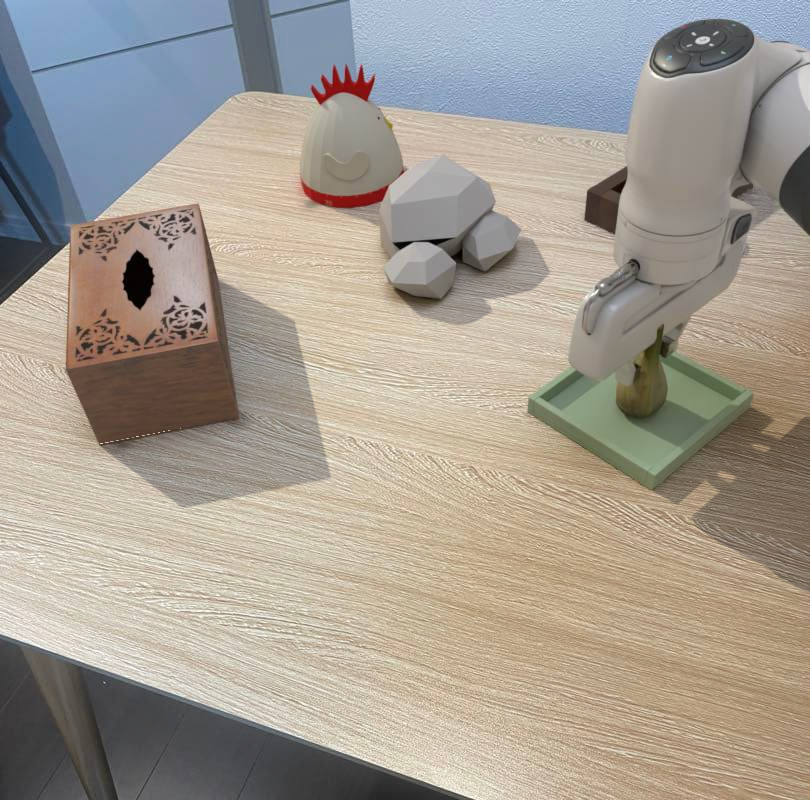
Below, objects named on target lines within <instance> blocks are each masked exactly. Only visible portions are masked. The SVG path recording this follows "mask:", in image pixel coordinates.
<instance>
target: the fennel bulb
mask: <svg viewBox="0 0 810 800" xmlns="http://www.w3.org/2000/svg"><path fill="white" fill-rule="evenodd" d="M663 330H664V324H662V325H661V326H660V327H659V328H658V330H657V338H656V341H655V343H653V344H652V345H651V346H649V347H648V348H647V349H645V350H644V351H643V352H641V353H640V354H639V355H638V357H637V359H635V360H633V363H636V364H638V365H640V366H641V371H640V374H639V375H640V376H639V379H637V380H636V381H635V382H634V383H632V384H631V385H630V386H628V387H627V386H625V385H623V384H621V383H619V382H618V383H617V388H616V404H617V406H618V408H619V409H620V410H621V411H622V412H623V413H625V414H627V415H629V416H636V417H648V416H650V415H651V414H653V413H655V412H656V411H658V410H659V409H660V408H661V407H662V405H663V404H664V402H665V400H666V397H667V391H668V385H667V380H666V376H665V372H664V369H663V366H662V364H661V361H660V359H659V354H660V348H661V342H662V336H663Z"/></svg>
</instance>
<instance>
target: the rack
mask: <svg viewBox="0 0 810 800" xmlns="http://www.w3.org/2000/svg"><path fill="white" fill-rule="evenodd" d="M627 176H628V169H627V165H625V167H623V168H620V170H617V171H616V172H615V173H613V174H612V175H609V176H607V177H606V178H604V179H603V180H601V181H600V182H598V183H596V184H595V185H593V186H591V187H590V188H588V189H587V190H586V196H585V197H586V198H585V208H584V218H583V220H584V221H585V222H586V221H587V222H589V223H590V224H593V225H595V226H597V227H599V228H601V229H603V230H606V231H608V232H610V233H611V234H613V235H615V231H616V224H617V216H618V207H619V200H620V196H621V193H622V190H623V188H624V186H625V184H626V181H627ZM752 188H754V185H753V184H751V183H750V184H747V185H743V186H740V187H738V188H736V189H735V190H734V191H733V193H732V195H731V196H732V197H734V198H736V199H738V197H740V196H741V195H743V194H744V193H745V192H747V191H749V190H750V189H752Z"/></svg>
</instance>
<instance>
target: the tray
mask: <svg viewBox="0 0 810 800" xmlns="http://www.w3.org/2000/svg"><path fill="white" fill-rule="evenodd" d="M659 359H660V361H661V364H662V366H663V369H664V372H665V376H666V380H667V385H668V391H667V397H666V400H665V402H664V404H663V405H662V407H661V408H660V409H659V410H658V411H656V412H655V413H653V414H651V415H650V416H648V417H636V416H629V415H627V414H625V413H623V412H622V411H621V410H620V409H619V408H618V406H617V404H616V388H617V383H618V381H617V380H616V379H615V372H614V373H613V374H612V375H610V376H609V377H608V378H606V379H605V380H603V381H601V382H598V381H595V380H593V379H591V378H589V377H587V376H585V375H583V374H582V373H580V372H579V371H577V370H576V369H574V368H573V367H572V366H571V365H570V367H568V368H567V369H566V370H564V371H563V372H561V373H559V375H557V376H556V377H554V378H553V379H551V380H550V381H548V382H547V383H546V384H545V385H543V386H542V387H540V388H539V389H538V390H536V391H535V392H533V393H532V394H530V395H529V396H528V399H527V413H529V414H530V415H532V416H534V417H535V418H537V419H538V420H540V421H542V422H543V423H545V425H548V426H549V427H551V428H553V429H554V430H556V431H557V432H559V434H560V433H561V434H562V435H563V436H565V437H567V438H569V439H570V440H571V441H573V442H575V443H576V444H578V445H579V446H581V447H583V448H584V449H585V450H587V451H588V452H591V453H592V454H593V455H595V456H597V457H598V458H600V459H601V460H603V461H604V462H607V464H609V465H611V466H612V467H614V468H616V469H617V470H619V471H621V472H623V473H624V474H625V475H627V476H628V477H630V478H631V479H633V480H634V481H636V482H638V483H639V484H641V485H642V486H644V487H645V488H647V489H649V490H650V491H653V490H654V489H655V488H656V487H658V486H659V485H660V484H661V483H662V482H664V481H665V480H666V479H667V478H668V477H670V475H672V474H673V473H674V472H675V471H677V470H678V469H679V468H681V466H682V465H684V464H685V463H686V462H687V461H688V460H690V458H692V457H693V456H694V455H696V454H697V453H698V452H699V451H700V450H701V449H702V448H703V447H705V446H707V445H708V444H709V443H710V442H711V441H712V440H713V439H714V438H715V437H717V436H718V435H720V433H722V432H723V431H724V430H725V429H726V428H728V427H729V426H730V425H731V424H732V423H733V422H734V421H736V420H737V419H738V418H739V417H741V416H742V415H743V414H744V413H745V412H747V410H749V409H750V408H751V404H752V402H753V398H754V395H755V392H754V391H752V390H750V389H748V388H746V387H744V386H742V385H740V384H738V383H737V382H735V381H733V380H730V379H729V378H728V377H725V376H723V375H721V374H720V373H718V372H716V371H714V370H712V369H711V368H708V367H707V366H704V365H703V364H701V363H699V362H697V361H696V360H693V359H691V358H690V357H687V356H686V355H684V354H682V353H680V352H678V351H677V350H676V351H675V352H673V353H672V354H671V355H669V356H668V357H666V358H663V357H661V355H659Z"/></svg>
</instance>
